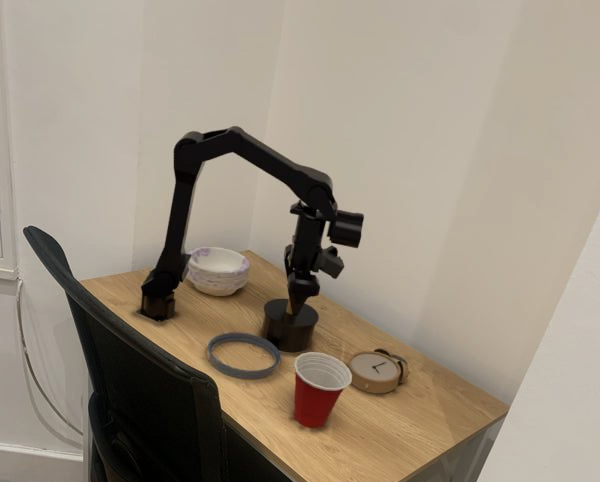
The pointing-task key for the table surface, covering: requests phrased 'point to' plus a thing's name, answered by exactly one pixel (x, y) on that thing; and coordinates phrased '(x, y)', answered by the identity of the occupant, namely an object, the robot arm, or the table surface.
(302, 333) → the tin
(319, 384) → the plastic cup
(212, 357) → the blue-grey round rimmed part
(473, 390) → the table surface
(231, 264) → the paper bowls
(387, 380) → the alarm clock
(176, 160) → the robot arm
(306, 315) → the tin lid
